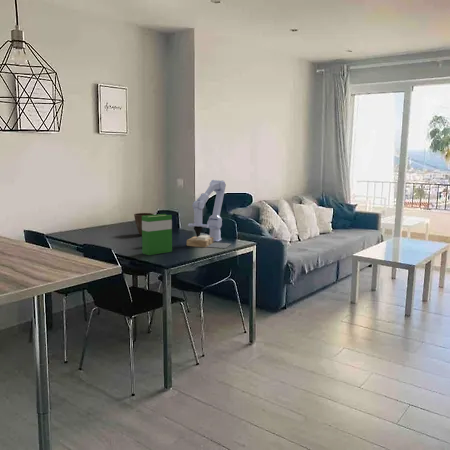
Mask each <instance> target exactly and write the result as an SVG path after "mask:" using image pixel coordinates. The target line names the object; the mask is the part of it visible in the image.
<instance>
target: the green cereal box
mask: <svg viewBox="0 0 450 450" xmlns="http://www.w3.org/2000/svg"><path fill="white" fill-rule="evenodd" d="M172 218H173V216H172V214H166V213H160V214H159V213H158V214H154V215H146V216H142V235H141V244H142V245H141V247H142V248H141V251H142V252H141V253H142V254H143V255H147V256H152V255H153V256H154V255H157V254H158V255H159V254H166V253H172V252H173V219H172Z"/></svg>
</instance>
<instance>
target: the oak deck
mask: <svg viewBox="0 0 450 450" xmlns="http://www.w3.org/2000/svg"><path fill="white" fill-rule="evenodd" d="M212 243H214V241H213V237H210V238H209V239H207V240H197V236H196V235H194V236H192V237H191V238H188V239H186V246H187V247H196V248H208V247H207V246H209V245H210V244H212Z"/></svg>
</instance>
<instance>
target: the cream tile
mask: <svg viewBox="0 0 450 450" xmlns="http://www.w3.org/2000/svg"><path fill="white" fill-rule="evenodd" d="M209 238H210V234H209V235H207V234H200V236H198V237H197V240H207V239H209Z"/></svg>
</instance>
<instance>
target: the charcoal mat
mask: <svg viewBox="0 0 450 450" xmlns="http://www.w3.org/2000/svg"><path fill="white" fill-rule="evenodd" d="M231 245H232V243H226V242H213V243H212V244H210V245H209V246H207V247H206V248H211V249H213V248H214V249H224V250H225V249H227V248H228V247H229V246H231Z"/></svg>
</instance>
